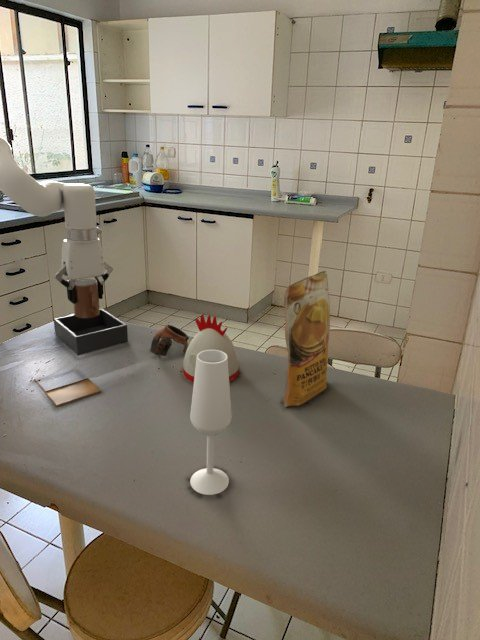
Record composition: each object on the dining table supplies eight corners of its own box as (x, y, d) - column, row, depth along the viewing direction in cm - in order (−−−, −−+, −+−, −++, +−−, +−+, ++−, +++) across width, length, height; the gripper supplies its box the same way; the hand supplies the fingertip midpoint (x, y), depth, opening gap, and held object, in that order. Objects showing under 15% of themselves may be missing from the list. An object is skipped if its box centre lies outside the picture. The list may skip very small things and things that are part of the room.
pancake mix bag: (265, 402, 104) (274, 283, 93) (313, 374, 117) (326, 267, 107) (289, 414, 100) (301, 291, 89) (336, 384, 113) (351, 273, 102)
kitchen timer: (198, 354, 124) (198, 302, 119) (246, 365, 120) (248, 311, 114) (173, 378, 112) (172, 320, 107) (225, 390, 108) (227, 331, 102)
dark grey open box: (55, 337, 131) (53, 318, 128) (103, 326, 139) (102, 308, 137) (78, 357, 120) (75, 337, 118) (128, 344, 129) (127, 324, 127)
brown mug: (70, 312, 127) (67, 280, 123) (93, 308, 131) (91, 277, 128) (83, 322, 121) (81, 290, 117) (107, 317, 125) (105, 286, 122)
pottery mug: (151, 345, 130) (166, 320, 129) (180, 362, 130) (195, 337, 129) (140, 353, 118) (155, 325, 117) (171, 372, 118) (187, 345, 117)
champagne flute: (212, 462, 84) (215, 343, 75) (237, 482, 80) (243, 358, 71) (182, 479, 80) (181, 354, 71) (206, 501, 75) (208, 371, 66)
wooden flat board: (34, 380, 108) (33, 378, 108) (75, 368, 115) (75, 366, 114) (56, 407, 99) (56, 405, 99) (100, 392, 105) (100, 390, 105)
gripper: (106, 228, 126) (109, 290, 133) (41, 234, 116) (48, 301, 122) (119, 234, 121) (122, 298, 128) (53, 240, 110) (59, 310, 117)
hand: (86, 299), depth 125 cm, fingers closed on brown mug, 6 cm apart
